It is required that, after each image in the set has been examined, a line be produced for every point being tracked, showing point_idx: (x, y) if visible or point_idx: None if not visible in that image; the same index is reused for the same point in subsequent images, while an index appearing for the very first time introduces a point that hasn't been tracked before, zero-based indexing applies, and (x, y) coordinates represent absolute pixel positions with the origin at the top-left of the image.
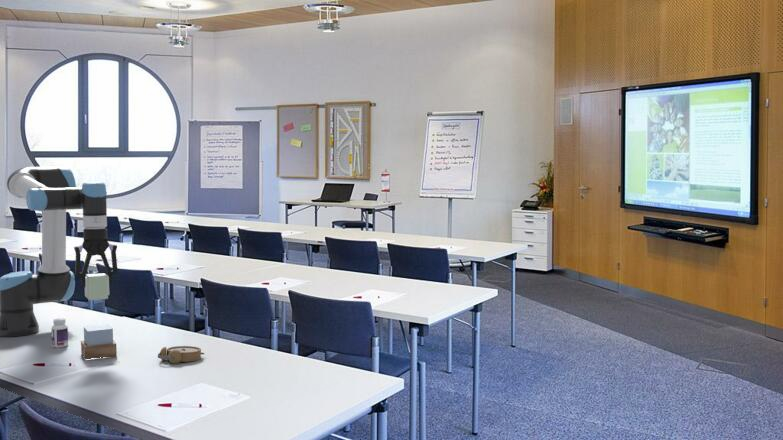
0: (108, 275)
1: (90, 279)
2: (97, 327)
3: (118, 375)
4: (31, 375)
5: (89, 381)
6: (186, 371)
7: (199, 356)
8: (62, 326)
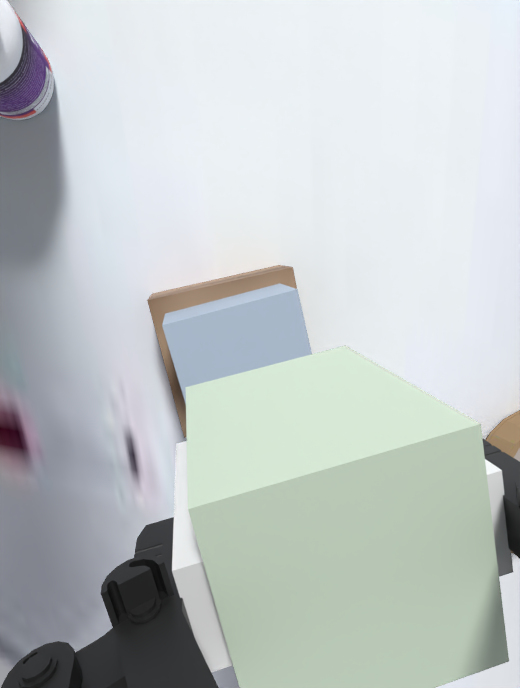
0: (515, 554)
1: None
2: (243, 362)
3: None
4: (11, 586)
5: (231, 678)
6: (511, 613)
7: None
8: None
